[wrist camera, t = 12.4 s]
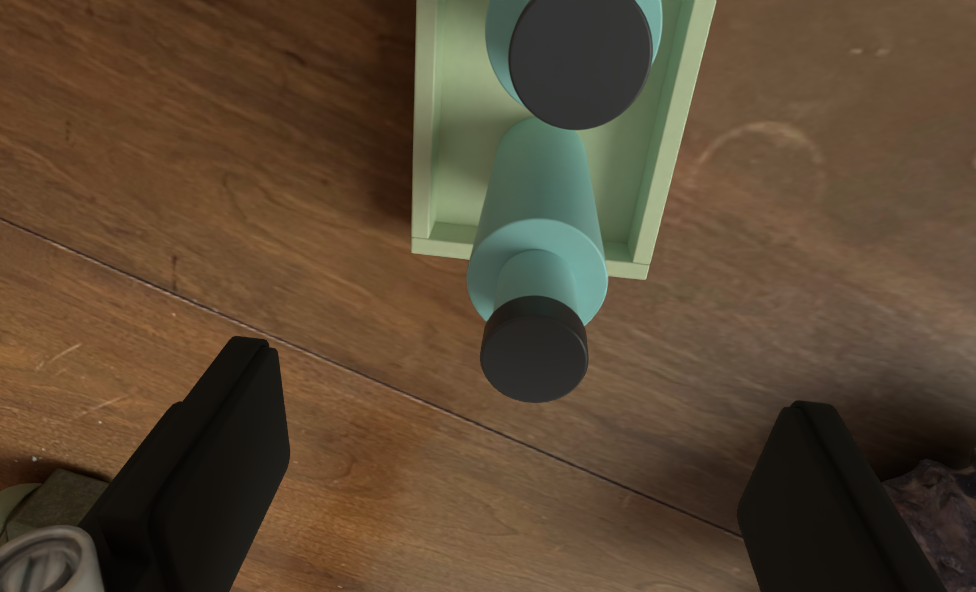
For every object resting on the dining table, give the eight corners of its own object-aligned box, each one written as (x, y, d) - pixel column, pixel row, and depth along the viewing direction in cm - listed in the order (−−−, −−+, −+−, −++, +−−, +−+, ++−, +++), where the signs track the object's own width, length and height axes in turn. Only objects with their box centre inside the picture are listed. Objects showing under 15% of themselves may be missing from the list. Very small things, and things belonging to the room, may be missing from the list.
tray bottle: (516, -71, 22) (474, -89, 9) (625, -60, 22) (728, -64, 9) (505, 45, 24) (458, 158, 12) (604, 56, 24) (668, 181, 11)
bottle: (499, 111, 25) (452, 276, 13) (593, 121, 25) (638, 298, 13) (491, 199, 28) (443, 417, 15) (578, 209, 27) (604, 437, 15)
